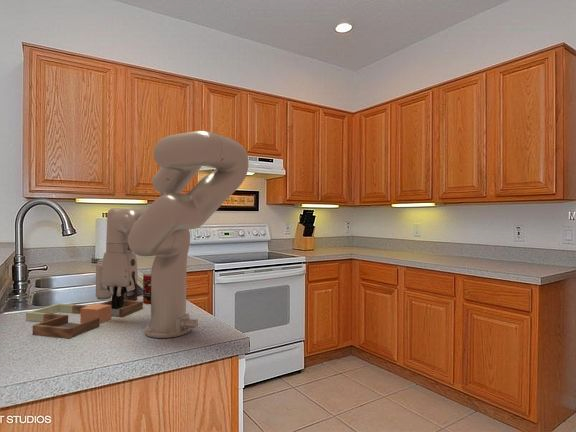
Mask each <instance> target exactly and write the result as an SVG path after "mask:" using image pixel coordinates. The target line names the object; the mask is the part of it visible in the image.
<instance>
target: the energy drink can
mask: <svg viewBox="0 0 576 432" xmlns="http://www.w3.org/2000/svg"><path fill="white" fill-rule="evenodd" d="M102 261H103V258H102V259H98V260H97V262H96V264H95V298H96V299H97V300H101V301H102V300H109V299H110V300H111V299H112V296H111V295H110V292H109V291H108V289H106V288H103V287H102V283H101V268H102Z"/></svg>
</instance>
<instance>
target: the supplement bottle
mask: <svg viewBox="0 0 576 432" xmlns="http://www.w3.org/2000/svg"><path fill="white" fill-rule="evenodd" d="M127 287H128V286H127ZM134 287H135V289H134V290H131V291H127V292H126V294H125V295H124V300H129V301H137V299H138V282H137V283H136V284H134Z"/></svg>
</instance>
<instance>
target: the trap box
mask: <svg viewBox="0 0 576 432" xmlns="http://www.w3.org/2000/svg"><path fill="white" fill-rule="evenodd" d="M100 304H104V305H111V317H117V318H123V317H126V316H128V315H130V314H133V313H135V312H138V311H140V310H143V309H144V302H143V300H142V301H141V300H140V301H139V300H133V301H129V300H124V304H123V307H122V308H119V309H112V299H110V300H106V301H103V302H102V303H100ZM87 306H88V305H85V304H84V305H83V304H82V305H81V304H70V303H69V304H67V303H56V304H52V305H48V306H44V307H41V308H38V309H34V310H30V311H28V312H27V311H26V312H25V321H27V322H34V323H35V322H37V324H33V325H32V336H43V337H52V338H62V339H72V338H74V337H76V336H79V335H82V334H84V333H87V332H88V331H91V330H93V329H97V328H99V327H100V324H101V323H100V318H94V319H91V320H89V321H86V322H83V323H75V322H69V314H80V315H81V308H84V307H87ZM60 313H68V314H60ZM38 322H39V323H38Z"/></svg>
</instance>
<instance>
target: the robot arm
mask: <svg viewBox="0 0 576 432" xmlns="http://www.w3.org/2000/svg"><path fill="white" fill-rule="evenodd" d="M153 158H154V159H153V160H154V162H155V163H156V165H157V166H159V169H158V170H157V172H156V173H155V174H154V176H153V177H152V180H151V184H152V186H153V189H154V190H155V191H156V192H157V193H158V194H159V195H161V196H159V197H157V198H156V199H155V200H154V201H153V202H152V203H150V205H149V206H148V207H147V208H120V207H119V208H114V207H113V208H110V209H108V211H107V215H106V241H105V243H106V244H105V245H106V246H105V252H104V254H103V257H102V259H103V261H102V268H101V283H102V287H103V288H106V289H108V291H109V292H110V295H111V300H112V309H119V308H122V307H123V304H124V295H125V294H126V292H127V291H131V290H134V289H135V287H134V284H136V283H137V284H138V279H139V278H138V262H137V256H140V257H154V260H153V262H152V266H151V271H150V272H151V304H150V324H149V325H147V326H146V327H145V328H144V334H145V335H146V336H147V337H149V338H155V339H156V338H157V339H169V338H176V337H180V336H183V335H186V334H188V333H189V332H190V331H191V332H192V329H197V328H198V325H199V323H198V322H199V321H198V319H194V318H193V319H191V318H190V313H187V270H188V269H187V268H188V267H187V265H188V254H189V249H190V244H191V233H190V230H196V229H198V228H200V227H201V226H203V225H204V224H205V223H206V222H207V221H208V220H209V218H211V217H212V216H213V215H214V213H215V212H216V211H217V210H218V209H219V208H220V207H221V206H222V205H223V204H224V203H225V202H226V201H227V199H229V198H230V197H231V196H232V195H233V194H234V193H235V192H236V191H237V190H238V189H239V188H240V186H241V185H242V184H243V182H244V181H245V179H246V176H247V174H248V170H249V156H248V153H247V150H246V148H244V146H243V144H241V143H240V142H238V141H236V140H235V139H232V138H230V137H227V136H224V135H220V134H217V133H214V132H211V131H208V130H195V131H190V132H183V133H175V134H170V135H167V136H164V137H163V138H161V139H160V140H159V141H158V142H157V143H156V144H155V147H154V150H153ZM202 167H207V168H212V169H214V170H213V171H212V172H210V173H208V174H206V175H205V176H203V177H202V178H201V179H200V180H199V181H198V182H197V184H195V186H193V188H192V189H191V190H189V191H188V192H185V193H182V192H183V191H184V189H185V188H186V187H187V185H188V184H189V183H190V181H191V180H192V179H194V176H195V175H196V174H197V173H198V172H199V170H201V168H202ZM136 255H137V256H136ZM127 286H128V287H127Z"/></svg>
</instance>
